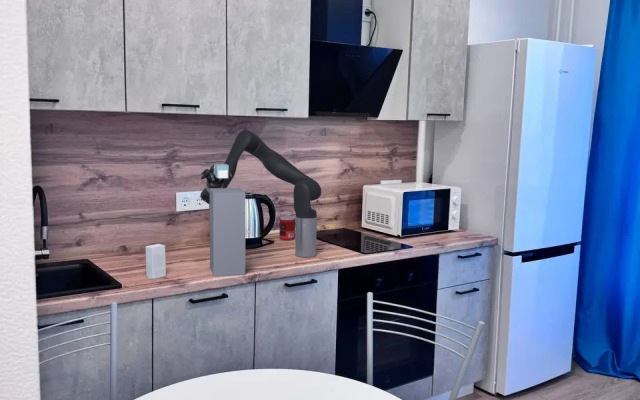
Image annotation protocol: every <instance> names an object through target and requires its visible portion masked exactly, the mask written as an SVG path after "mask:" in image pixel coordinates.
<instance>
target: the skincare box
mask: <svg viewBox="0 0 640 400" xmlns="http://www.w3.org/2000/svg"><path fill="white" fill-rule="evenodd" d="M166 263H167V261H166V245H165V244H162V243H156V244H151V245H147V246H145V267H146V268H145V270H146V272H145V273H146V278H147V277H148V279H151V280H156V279H159V278H163V277H166V276H167V274H166V273H167V270H166V269H167V267H166Z"/></svg>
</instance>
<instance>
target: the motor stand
mask: <svg viewBox="0 0 640 400" xmlns="http://www.w3.org/2000/svg"><path fill="white" fill-rule="evenodd" d="M209 269H210V271H211V273H213V274H212V277H214V276H215V277H230V276H231V277H232V276H245V275H246V192H245V191H244V190H243V189H242V188H241V187H227V188H210V205H209Z"/></svg>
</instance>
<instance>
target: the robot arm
mask: <svg viewBox="0 0 640 400" xmlns="http://www.w3.org/2000/svg"><path fill="white" fill-rule="evenodd" d="M244 151H245V152H246V153H248V154H251V155H252V156H254V157H255V158H256V159H258V160H259V161H260V162H261V164H262V165H263V167H264V168H265V170H267V171H268V172H269V173H270V174H271V175H272V176H274V177H275V178H277V179H279V180H281V181H283V182H285V183H289V184H290V185H293V186H294V187H293V194H292V195H293V196H292V197H293V210H294V212H295V239H294V240H295V241H294V243H295V244H294V248H295V249H294V256H296V257H299V258H313V257H316V255H317V220H318V219H317V215H318V213H317V210H316V209H313V208H312V206H311V202H312V201H316V200H318V199H319V198H320V197H321V196H322V188H321V185H320V183H319V182H317V181H316V180H315V179H314V178H312V177H310V176H308V175H307V174H306V173H304V172H302V171H301V170H300V169H299V168H297V167H296V166H295V165H293V164H292V163H291V162H290V161H289V160H288V159H286V157H284V156H283V155H282V154H280V153H279V152H277V151H276V150H274V149H272V148H270V147H269V146H268V145H267V144H266V143H265V142H264V141H263V140H262V139H261V138H260V137H259V135H257V134H256V133H254V132H252V131H250V130H249V129H244V130H241V131H240V132H239V133H238V134H237V135H236V138H235V140H234V141H233V143H232V146H231V148H230V151H229V153H228V155H227V157H226V159H225V161H224V163H223V164H227V165H229V178H216V177H215V174H213V173H214V166H215V164H212V165H211V166H210V168H205V169H204V170H203V171H202V172H201V173H200V179H201V180H205V179H206V182H205V187H204V188H203V190H202V191H201V192H200V195H199V197H200V199H201V200H202V201H203V202H205V203H206V204H208V206H210V188H229V185H230V183H231V182H232V180H233V178H234V177H235V174H236V171H237V167H238V162H239V160H240V157H241V156H242V154H243V153H244Z"/></svg>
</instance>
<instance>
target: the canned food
mask: <svg viewBox="0 0 640 400" xmlns="http://www.w3.org/2000/svg"><path fill="white" fill-rule="evenodd" d="M295 230H296V216H292V215H291V216H289V215H283V216H280V217H279V234H278V235H279V240H281V241H288V242H289V241H293V240H295Z"/></svg>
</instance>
